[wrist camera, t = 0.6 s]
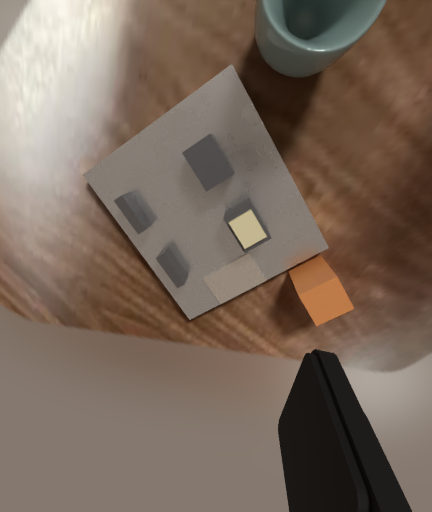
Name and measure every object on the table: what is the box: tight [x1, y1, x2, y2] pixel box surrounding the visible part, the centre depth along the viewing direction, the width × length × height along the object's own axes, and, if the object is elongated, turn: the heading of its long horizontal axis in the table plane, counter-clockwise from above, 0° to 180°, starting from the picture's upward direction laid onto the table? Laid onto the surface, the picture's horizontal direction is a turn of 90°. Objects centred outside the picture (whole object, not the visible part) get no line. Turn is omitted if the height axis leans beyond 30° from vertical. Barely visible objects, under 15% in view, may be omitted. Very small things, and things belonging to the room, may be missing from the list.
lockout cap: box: [288, 255, 354, 326], centre depth 31 cm, size 4×4×6 cm
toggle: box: [182, 133, 235, 192], centre depth 27 cm, size 3×4×3 cm
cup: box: [254, 0, 386, 78], centre depth 21 cm, size 8×8×10 cm
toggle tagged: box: [223, 198, 272, 253], centre depth 29 cm, size 3×4×3 cm
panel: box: [83, 64, 329, 320], centre depth 30 cm, size 18×20×4 cm
